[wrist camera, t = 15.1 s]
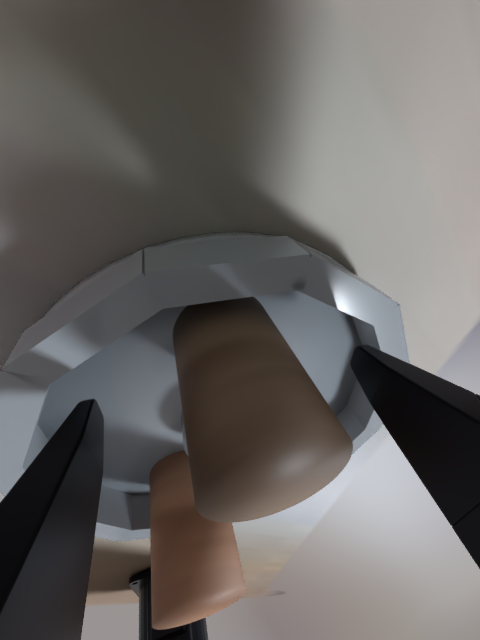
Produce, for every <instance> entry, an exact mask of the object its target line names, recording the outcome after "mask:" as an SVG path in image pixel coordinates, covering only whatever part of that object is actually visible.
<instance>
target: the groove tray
mask: <svg viewBox="0 0 480 640" xmlns="http://www.w3.org/2000/svg"><path fill="white" fill-rule="evenodd" d="M246 297H254V298H256V299H257V300H258V301H259V302H260V303H261V304H262V306H263V307H264V309H265V310H266V312H267V313H268V315H269V316H270V318H271V319H272V321H273V322H274V324H275V325H276V327H277V328H278V330H279V331H280V333H281V334H282V336H283V337H284V339H285V340H286V342H287V343H288V345H289V346H290V348H291V349H292V351H293V352H294V354H295V355H296V357H297V358H298V360H299V361H300V363H301V364H302V366H303V367H304V369H305V370H306V372H307V373H308V375H309V376H310V378H311V379H312V381H313V382H314V384H315V385H316V387H317V388H318V390H319V391H320V393H321V394H322V396H323V397H324V399H325V400H326V402H327V403H328V405H329V406H330V408H331V409H332V411H333V412H334V414H335V415H336V417H337V418H338V420H339V421H340V423H341V424H342V426H343V427H344V429H345V430H346V432H347V433H348V435H349V436H350V438H351V440H352V443H353V451H352V454H353V453H354V452H355V451H356V450H357V449H358V448H359V447H361V446H362V445H363V444H364V443H365V442H366V441H367V440H368V439H369V438H370V437H371V436H372V435H374V434H375V433H376V432H377V431H378V430H379V429H380V428H381V426H382V424H383V422H382V421H381V419H380V418H379V416H378V415H377V413H376V412H375V410H374V409H373V407H372V406H371V404H370V402H369V401H368V399H367V397H366V395H365V393H364V392H363V390H362V388H361V386H360V384H359V382H358V380H357V378H356V377H355V375H354V373H353V371H352V369H351V366H350V360H351V357H352V354H353V351H354V349H355V347H356V346H359V345H364V344H366V345H369V346H372V347H374V348H376V349H378V350H380V351H383V352H385V353H387V354H389V355H391V356H394V357H396V358H398V359H400V360H402V361H405V362H407V363H409V364H410V362H409V357H408V351H407V345H406V339H405V333H404V327H403V321H402V316H401V310H400V305H399V303H397V302H396V301H394V300H393V299H392V298H390V297H389V296H387V295H386V294H384V293H383V292H381V291H380V290H379V289H377V288H376V287H374V286H373V285H371V284H370V283H368V282H367V281H365V280H363V279H361V278H360V277H358V276H356V275H354V274H353V273H352V272H351V271H349V270H348V269H347V268H345V267H344V266H342V265H341V264H340V263H338V262H337V261H335V260H334V259H333V258H331V257H330V256H328V255H327V254H325V253H323V252H321V251H319V250H316V249H314V248H312V247H310V246H308V245H306V244H303V243H300V242H297V241H296V240H294V239H292V238H291V237H289V236H288V237H287V236H272V235H264V234H257V233H249V232H245V233H211V234H204V235H197V236H190V237H183V238H179V239H175V240H172V241H168V242H165V243H161V244H157V245H154V246H150V247H147V248H144V249H141V250H139V251H137V252H135V253H133V254H130V255H128V256H126V257H123V258H121V259H119V260H116V261H114V262H112V263H110V264H109V265H107V266H105V267H104V268H102V269H100V270H99V271H97V272H95V273H94V274H92V275H90V276H89V277H87V278H85V279H84V280H82V281H81V282H80V283H78V284H77V285H76V286H75V287H73V288H72V289H71V290H70V291H69V292H67V293H66V294H65V295H64V296H62V297H61V298H60V299H59V300H57V301H56V302H55V304H54V305H53V306H52V307H51V308H50V309H49V310H48V311H47V313H46V314H45V315H44V316H43V317H42V318H41V319H40V320H39V321H37V322H36V323H35V324H33V325H32V326H30V327H29V328H27V329H26V330H25V331H24V332H23V333H22V335H21V336H20V338H19V340H18V341H17V343H16V345H15V346H14V348H13V350H12V351H11V353H10V355H9V357H8V358H7V360H6V362H5V363H4V365H3V367H2V368H1V370H0V492H1V493H2V494H3V495H4V496H6V495H7V493H8V492H9V491H10V490H11V488H12V487H13V486H14V484H15V483H16V482H17V481H18V479H19V478H20V477H21V475H22V474H23V473H24V472H25V470H26V469H27V468H28V466H29V465H30V464H31V463H32V461H33V460H34V459H35V458H36V456H37V455H38V454H39V452H40V451H41V450H42V449H43V447H44V446H45V445H46V443H47V442H48V441H49V440H50V438H51V437H52V436H53V434H54V433H55V432H56V431H57V429H58V428H59V427H60V426H61V424H62V423H63V422H64V420H65V419H66V418H67V417H68V415H69V414H70V413H71V411H72V410H73V409H74V408H75V406H76V405H77V404H78V403H79V402H80V401H83V400H88V399H95V400H96V401H97V403H98V405H99V407H100V409H101V412H102V414H103V417H104V459H103V478H102V486H101V493H100V500H99V508H98V515H97V522H96V530H95V537H97V538H102V539H107V540H113V541H128V540H137V539H146V538H150V471H151V469H152V468H153V466H154V465H155V464H156V463H157V462H159V461H160V460H161V459H163V458H165V457H166V456H168V455H171V454H173V453H176V452H179V451H183V450H185V452H186V454H187V455H188V450H187V442H186V435H185V427H184V420H183V412H182V405H181V397H180V390H179V383H178V375H177V368H176V360H175V353H174V345H173V328H174V325H175V322H176V320H177V318H178V316H179V315H180V313H181V312H182V311H183V310H184V308H185V307H186V306H188V305H195V304H202V303H209V302H216V301H224V300H231V299H238V298H246Z"/></svg>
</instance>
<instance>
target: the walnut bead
mask: <svg viewBox="0 0 480 640" xmlns="http://www.w3.org/2000/svg"><path fill="white" fill-rule="evenodd" d="M173 345H174V353H175V360H176V368H177V375H178V383H179V390H180V397H181V405H182V412H183V420H184V427H185V435H186V442H187V450H188V457H189V464H190V472H191V479H192V487H193V494H194V502H195V507H196V510H197V511H198V513H199V514H200V515H202V516H203V517H204V518H207V519H209V520H212V521H217V522H242V521H248V520H253V519H258V518H262V517H265V516H268V515H272V514H274V513H277V512H280V511H282V510H285V509H287V508H289V507H292V506H294V505H296V504H298V503H300V502H302V501H303V500H305V499H307V498H309V497H310V496H312V495H314V494H315V493H317V492H318V491H320V490H321V489H322V488H324V487H325V486H326V485H328V484H329V483H330V482H331V481H332V480H333V479H334V478H336V477H337V476H338V475H339V473H340V472H341V471H342V470H343V469H344V467H345V466H346V465H347V463H348V461H349V460H350V458H351V455H352V451H353V443H352V440H351V438H350V436H349V435H348V433H347V432H346V430H345V429H344V427H343V426H342V424H341V423H340V421H339V420H338V418H337V417H336V415H335V414H334V412H333V411H332V409H331V408H330V406H329V405H328V403H327V402H326V400H325V399H324V397H323V396H322V394H321V393H320V391H319V390H318V388H317V387H316V385H315V384H314V382H313V381H312V379H311V378H310V376H309V375H308V373H307V372H306V370H305V369H304V367H303V366H302V364H301V363H300V361H299V360H298V358H297V357H296V355H295V354H294V352H293V351H292V349H291V348H290V346H289V345H288V343H287V342H286V340H285V339H284V337H283V336H282V334H281V333H280V331H279V330H278V328H277V327H276V325H275V324H274V322H273V321H272V319H271V318H270V316H269V315H268V313H267V312H266V310H265V309H264V307H263V306H262V304H261V303H260V302H259V301H258V300H257V299H256V298H254V297H246V298H238V299H231V300H224V301H216V302H209V303H202V304H195V305H188V306H186V307H185V308H184V310H183V311H182V312H181V313H180V315H179V316H178V318H177V320H176V322H175V325H174V328H173Z"/></svg>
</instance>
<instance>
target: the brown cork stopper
mask: <svg viewBox="0 0 480 640" xmlns="http://www.w3.org/2000/svg"><path fill="white" fill-rule="evenodd" d="M150 540H151V604H152V628H153V629H157V630H162V629H169V628H174V627H178V626H182V625H185V624H189V623H192V622H195V621H197V620H200V619H203V618H205V617H207V616H210V615H212V614H214V613H216V612H218V611H220V610H223V609H224V608H226V607H228V606H230V605H231V604H233V603H235V602H236V601H238V600H239V599H240V598H242V597H243V596H244V595H245V593H246V591H247V589H246V585H245V580H244V576H243V571H242V567H241V562H240V558H239V553H238V549H237V544H236V540H235V535H234V531H233V526H232V522H217V521H212V520H209V519H207V518H204V517H203V516H202V515H200V514H199V513H198V511H197V510H196V507H195V502H194V494H193V487H192V479H191V472H190V464H189V457H188V455H187V454H186V452H185V450H183V451H179V452H176V453H173V454H171V455H168V456H166V457H165V458H163V459H161V460H160V461H159V462H157V463H156V464H155V465H154V466H153V468H152V469H151V471H150Z"/></svg>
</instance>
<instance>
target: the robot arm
mask: <svg viewBox="0 0 480 640" xmlns="http://www.w3.org/2000/svg"><path fill="white" fill-rule="evenodd" d="M350 366H351V369H352V371H353V373H354V375H355V377H356V378H357V380H358V382H359V384H360V386H361V388H362V390H363V392H364V393H365V395H366V397H367V399H368V401H369V402H370V404H371V406H372V407H373V409H374V410H375V412H376V413H377V415H378V416H379V418H380V419H381V421H382V422H383V424H384V425H385V427H386V428H387V430H388V431H389V433H390V434H391V436H392V437H393V439H394V440H395V442H396V443H397V445H398V446H399V448H400V449H401V451H402V452H403V454H404V455H405V457H406V458H407V460H408V461H409V463H410V464H411V466H412V467H413V469H414V470H415V472H416V473H417V475H418V476H419V478H420V479H421V481H422V483H423V484H424V486H425V487H426V489H427V490H428V492H429V493H430V494H431V496H432V498H433V499H434V500H435V502H436V503H437V505H438V507H439V508H440V509H441V511H442V513H443V514H444V516H445V517H446V518H447V520H448V522H449V523H450V525H452V528H453V529H454V531H455V532H456V534H457V535H458V537H459V538H460V540H461V541H462V543H463V544H464V545H465V547H466V549H467V550H468V552H469V553H470V555H471V556H472V558H473V559H474V561H475V562H476V564H477V565H478V567H479V568H480V395H477V394H474V393H473V392H471V391H468V390H466V389H464V388H462V387H460V386H457V385H455V384H453V383H451V382H449V381H446V380H444V379H442V378H440V377H438V376H435V375H433V374H431V373H429V372H427V371H424V370H422V369H420V368H418V367H416V366H413V365H411V364H409V363H407V362H405V361H402V360H400V359H398V358H396V357H394V356H391V355H389V354H387V353H385V352H383V351H380V350H378V349H376V348H374V347H372V346H369V345H366V344H364V345H359V346H356V347H355V349H354V351H353V354H352V357H351V360H350ZM103 459H104V417H103V414H102V412H101V409H100V407H99V405H98V403H97V401H96V400H95V399H88V400H83V401H80V402H79V403H78V404H77V405H76V406H75V408H74V409H73V410H72V411H71V413H70V414H69V415H68V417H67V418H66V419H65V420H64V422H63V423H62V424H61V426H60V427H59V428H58V429H57V431H56V432H55V433H54V434H53V436H52V437H51V438H50V440H49V441H48V442H47V443H46V445H45V446H44V447H43V449H42V450H41V451H40V452H39V454H38V455H37V456H36V458H35V459H34V460H33V461H32V463H31V464H30V465H29V466H28V468H27V469H26V470H25V472H24V473H23V474H22V475H21V477H20V478H19V479H18V481H17V482H16V483H15V484H14V486H13V487H12V488H11V490H10V491H9V492H8V493H7V495H6V496H5V497H4V499H3V500H2V501H1V502H0V640H81V633H82V625H83V618H84V610H85V603H86V596H87V589H88V581H89V574H90V567H91V559H92V552H93V544H94V537H95V530H96V522H97V515H98V508H99V500H100V493H101V486H102V478H103ZM129 586H130V587H131V588H132V590H133V591H134V592H135V593H136V594H137V596H138V597H139V640H208V634H207V625H206V618H203V619H200V620H197V621H195V622H192V623H189V624H185V625H182V626H178V627H174V628H169V629H162V630H157V629H153V628H152V604H151V570H150V571H147V572H144V573H141V574H138V575H135V576H133V577H131V578H130V579H129Z"/></svg>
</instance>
